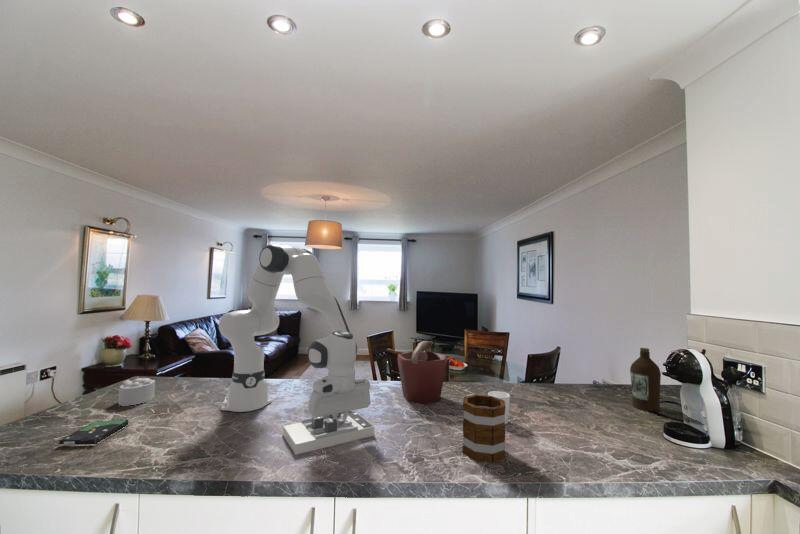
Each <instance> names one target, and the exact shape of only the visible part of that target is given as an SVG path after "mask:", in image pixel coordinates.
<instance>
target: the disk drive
mask: <svg viewBox="0 0 800 534" xmlns="http://www.w3.org/2000/svg"><path fill="white" fill-rule="evenodd" d="M126 425H128V426H129V419H115V420H114V419H112V420H97V421H94V422H92V423H90V424H89V423H88V424H87V425H86V426H84V427H82V428H80V429H78V430H76V431H74V432H72V433H70V434H68V435H66V436H64V437H62V438H61V439H59V442H58V445H59V444H97V443H98V442H100V441H101V440H103V439H105V438H106V437H108V436H110V435H111V434H113V433H115V432H117V431H118V430H120V429H122V428H123V427H125V426H126Z"/></svg>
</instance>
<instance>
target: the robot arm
mask: <svg viewBox="0 0 800 534" xmlns="http://www.w3.org/2000/svg"><path fill="white" fill-rule="evenodd" d="M258 260H259V261H258V263H257V264H256V267H255V268H254V271H253V274H252V276H251V279H250V282H249V285H248V287H247V290H246V297H247V298H248V300H249V301H250V302H251V303H252V306H251V308H249V309H242V310H239V309H238V310H234V311H229V312H227V313H225V314H223V315H222V316H221V317H220V319H219V322H218V330H219V332H220V334H221V335H222V337H224V338H225V339H227V340H228V341H229V343H230V345H231V347H232V350H233V360H234V362H233V364H234V365H233V371H232V375H231V378H232V379H231V380H232V382H231V384H230V385H229V387H228V388H225V395H226V396H225V397H224V400H223V402H222V405H221V407H220V409H221V411H230V412H234V413H235V412H236V413H237V412H238V413H242V412H251V411H256V410H259V409H262V408H264V407H265V406H266V405H269V404H271V403H272V402H273V400H272V399H271V398H270V397H269V383H268V382H267V381H266V380H265V373H266V372H265V369H264V365H265V364H264V361H265V350H264V349H263V348H262V347H261V346H259V345H257V344H256V341H255V337H256V336H263V335H264V336H265V335H267V334H271V333H272V332H275V331H276V330H277V329H278V328H279V326H280V317H279V316H280V315H279V314H278V312H276V310H275V302H276V297H277V295H278V291H279V288H280V286H281V282H282V280H283V277H284V275H287V276H288V275H291V277H292V282H293V288H294V293H295V296H296V298H297V300H298V301H299V303H301V304H302V305H303V306H305V307H307V308H309V309H312V310H315V311H316V312H317V311H318V312H319V313H321V314H323V315H324V316H325V317H326V319H327V321H328V324H329V326H330V328H331V331H332V332H331V333H330V334H329V335H328V336H326V337H323V338H321V339H317V340H314V341H312V342H311V343H310V344H309V347H308V350H307V359H308V362H309V364H310V365H311V366H312V367H313V368H315V369H327V371H328V372H327V375H325V376H324V377H322V378H321V379H318V380H315V381H314V382H313V383H312V388H313V390H312V392H311V393H310V396H309V401H308V413H309V415H310V416H311V417H314V418H316V417H321V416H326V415H331V414H332V416H333V418H334V419H335V420H336V421H337V427H339V426H344V425H345V420H346V419H347V417H348V415H349V413H350V412H353V411H355V410H356V411H357V410H361V409H367V408H369V407H370V404H371V394H370V388H371V384H370V383H371V382H370V381H369V380H368V379H366V378H362V379H361V378H360V379H356V369H355V363H356V359H357V357H356V356H357V353H358V345H357V342H356V339H355V336H354V335H353V333H351V331H350V329H349V326H348V324H347V320H346V318H345V316H344V313H343V311H342V308H341V306H340V304H339V303H340V302H339V301H338V300H337V298H336V296H334V295H333V294H332V292H331V291H330V289H329V287H328V286H327V282H326V281H325V280H326V279H325V275H324V273H323V270H322V269H323V268H322V266H321V265H320V262H319V260H318V258H317V256H315V255H314V254H313V252H312V251H310V250H308V249H305V248H300V247H298V246H292V245H281V244H272V243H271V244H268V245H266V246H264V247H263V248H262V250H261V251H260V253H259V259H258ZM349 411H350V412H349ZM341 412H342V413H344V414H343V416H342V418H341V419H338V418H337V416H338V414H339V413H341Z"/></svg>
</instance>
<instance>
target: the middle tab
mask: <svg viewBox="0 0 800 534" xmlns="http://www.w3.org/2000/svg"><path fill="white" fill-rule="evenodd" d="M311 417H312V416H311ZM323 425H324V417H323V416H321V417H316V418H314V417H312V425H311V427H312V428H313V429H317V428H322V427H323Z"/></svg>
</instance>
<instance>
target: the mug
mask: <svg viewBox="0 0 800 534" xmlns="http://www.w3.org/2000/svg"><path fill="white" fill-rule="evenodd" d="M462 406H463V407H462V408H463V409H462V410H463V421H462V435H463V440H462V441H463V444H462V445H463V446H462V454H463V455H464V456H467V457H468V458H469V459H471V460H472V461H475V462H481V463H488V462H489V464H495V463H498V462H501V461H503V460H505V459H506V450H505V448H506V445H505V444H506V443H505V442H506V424H505V408H506V406H505V401H504V400H501V399H499V398H496V397H493V396H488V394H487V395H485V394H474V393H470V394H467V395H465V396H463V400H462ZM500 460H501V461H500Z"/></svg>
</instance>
